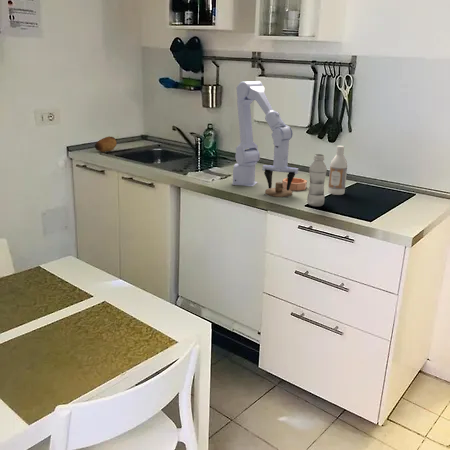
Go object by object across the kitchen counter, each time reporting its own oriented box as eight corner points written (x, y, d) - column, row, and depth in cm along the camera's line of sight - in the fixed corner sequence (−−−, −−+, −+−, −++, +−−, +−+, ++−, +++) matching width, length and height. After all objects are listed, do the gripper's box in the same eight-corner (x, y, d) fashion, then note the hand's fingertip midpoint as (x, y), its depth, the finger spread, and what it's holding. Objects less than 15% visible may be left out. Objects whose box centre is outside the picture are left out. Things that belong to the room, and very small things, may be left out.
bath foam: (325, 193, 221) (329, 146, 214) (330, 190, 227) (335, 143, 220) (341, 196, 218) (346, 148, 211) (346, 192, 224) (351, 145, 217)
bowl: (280, 189, 225) (280, 182, 224) (285, 184, 234) (286, 176, 233) (303, 192, 222) (304, 184, 221) (307, 186, 231) (308, 179, 230)
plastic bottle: (323, 209, 201) (328, 157, 194) (305, 207, 202) (309, 156, 195) (324, 204, 207) (328, 153, 200) (306, 202, 208) (310, 152, 201)
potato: (100, 159, 288) (90, 149, 289) (118, 150, 296) (109, 140, 298) (103, 149, 282) (93, 140, 284) (121, 140, 291) (111, 131, 292)
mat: (263, 196, 215) (263, 194, 215) (269, 190, 224) (270, 188, 224) (287, 198, 212) (287, 197, 212) (293, 192, 221) (293, 191, 221)
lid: (262, 195, 215) (262, 184, 213) (269, 188, 225) (269, 178, 223) (288, 198, 212) (289, 187, 210) (294, 191, 221) (295, 181, 220)
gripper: (261, 156, 212) (259, 189, 216) (296, 159, 207) (294, 193, 212) (265, 153, 218) (264, 185, 222) (300, 156, 214) (297, 188, 218)
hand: (279, 188), depth 217 cm, fingers open, 7 cm apart
